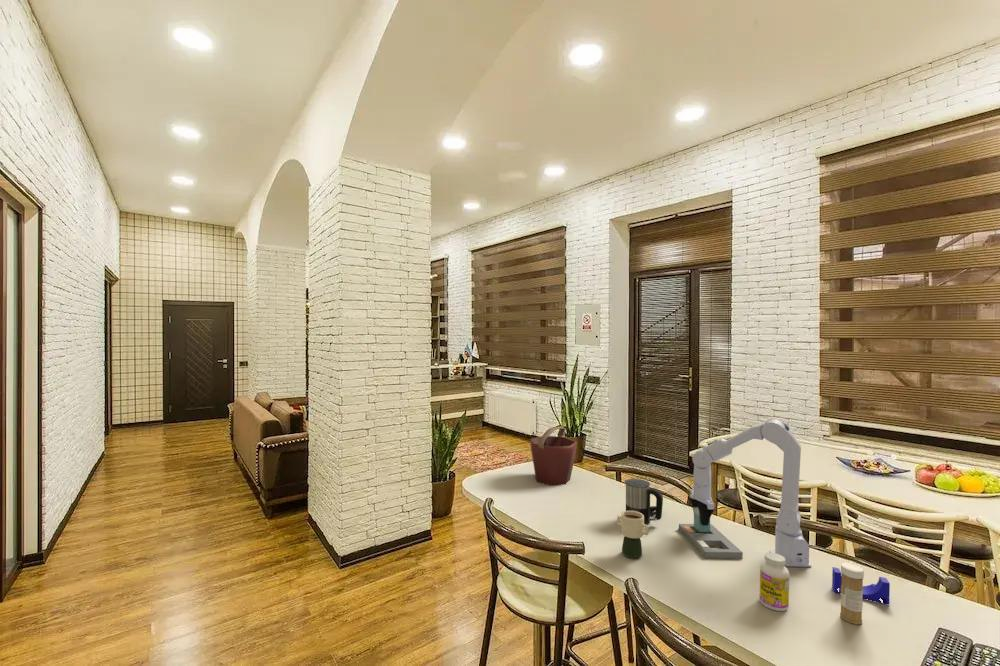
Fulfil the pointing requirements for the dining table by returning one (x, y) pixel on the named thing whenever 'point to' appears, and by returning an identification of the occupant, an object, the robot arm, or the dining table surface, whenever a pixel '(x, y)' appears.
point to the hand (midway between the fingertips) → (701, 521)
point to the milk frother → (643, 499)
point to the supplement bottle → (774, 582)
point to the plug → (699, 522)
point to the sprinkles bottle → (852, 593)
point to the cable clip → (865, 587)
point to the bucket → (553, 457)
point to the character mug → (632, 532)
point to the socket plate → (710, 542)
